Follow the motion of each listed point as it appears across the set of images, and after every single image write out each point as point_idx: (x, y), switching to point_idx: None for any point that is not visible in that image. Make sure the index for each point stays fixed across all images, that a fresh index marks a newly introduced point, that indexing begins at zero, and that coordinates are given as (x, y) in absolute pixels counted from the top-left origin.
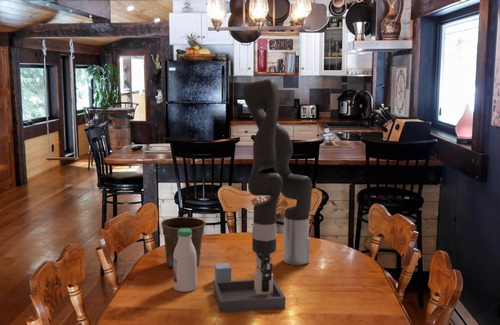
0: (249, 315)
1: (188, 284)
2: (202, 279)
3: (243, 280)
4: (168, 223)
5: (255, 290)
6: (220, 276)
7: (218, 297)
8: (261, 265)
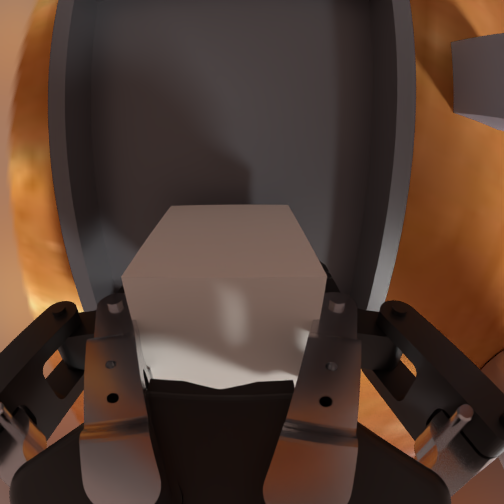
0: (44, 138)
1: None
2: (500, 28)
3: (409, 157)
4: None
5: (235, 205)
6: (485, 56)
7: None
8: (90, 416)
